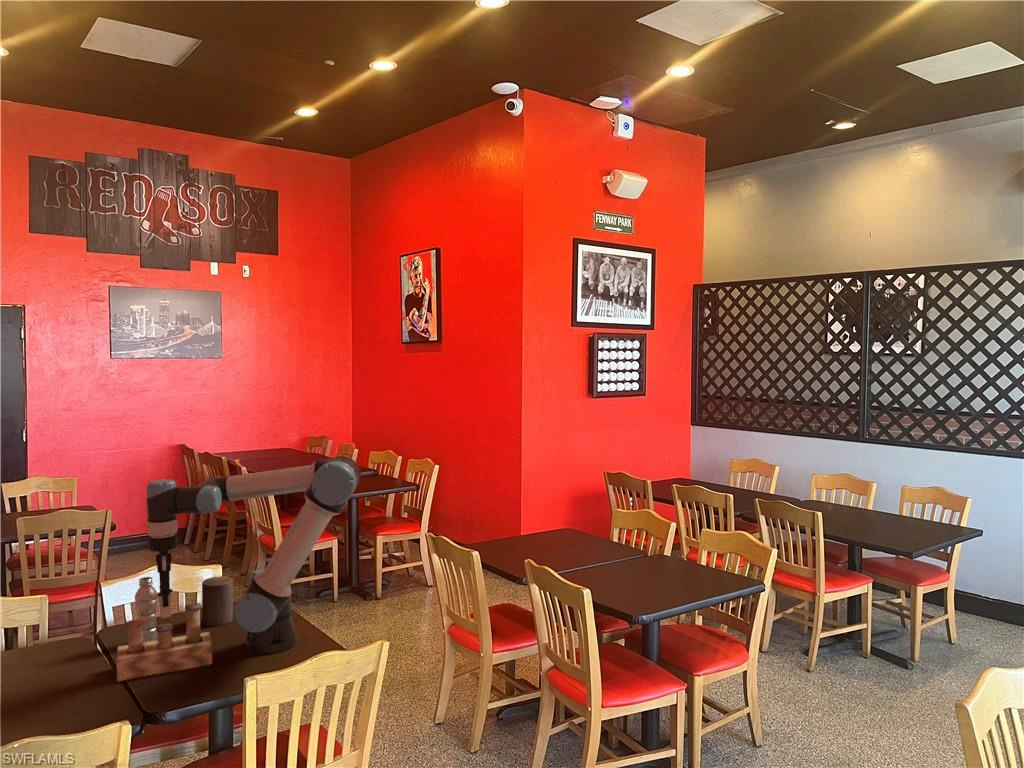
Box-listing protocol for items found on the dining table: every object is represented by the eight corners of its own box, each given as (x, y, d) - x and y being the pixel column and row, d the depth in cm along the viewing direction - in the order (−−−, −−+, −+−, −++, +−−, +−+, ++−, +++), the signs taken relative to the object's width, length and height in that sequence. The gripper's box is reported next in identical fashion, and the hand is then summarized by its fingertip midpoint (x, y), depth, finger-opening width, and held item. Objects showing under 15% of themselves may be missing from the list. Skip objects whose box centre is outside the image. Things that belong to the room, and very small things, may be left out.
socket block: (209, 651, 217) (209, 631, 217) (212, 664, 209) (211, 643, 208) (118, 667, 207) (117, 646, 206) (117, 681, 198) (116, 659, 197)
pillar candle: (197, 626, 237) (196, 581, 237) (209, 615, 247) (209, 572, 246) (226, 626, 237) (226, 581, 237) (237, 615, 247) (237, 572, 246)
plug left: (205, 639, 212) (204, 603, 212) (195, 645, 208) (194, 608, 208) (192, 638, 213) (191, 602, 213) (182, 644, 209) (181, 607, 209)
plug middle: (177, 661, 209) (176, 624, 209) (166, 667, 205) (165, 629, 204) (164, 659, 210) (163, 622, 210) (153, 665, 206) (152, 628, 205)
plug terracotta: (148, 657, 206) (147, 619, 205) (136, 663, 201) (135, 625, 201) (134, 655, 207) (133, 618, 206) (123, 662, 202) (122, 624, 202)
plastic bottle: (134, 648, 220) (133, 583, 219) (136, 640, 226) (134, 577, 225) (158, 645, 222) (156, 580, 221) (159, 637, 229) (157, 574, 228)
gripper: (148, 531, 210) (151, 611, 211) (148, 541, 198) (151, 626, 200) (176, 528, 213) (179, 607, 215) (178, 538, 202) (181, 621, 203)
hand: (165, 616), depth 207 cm, fingers closed
